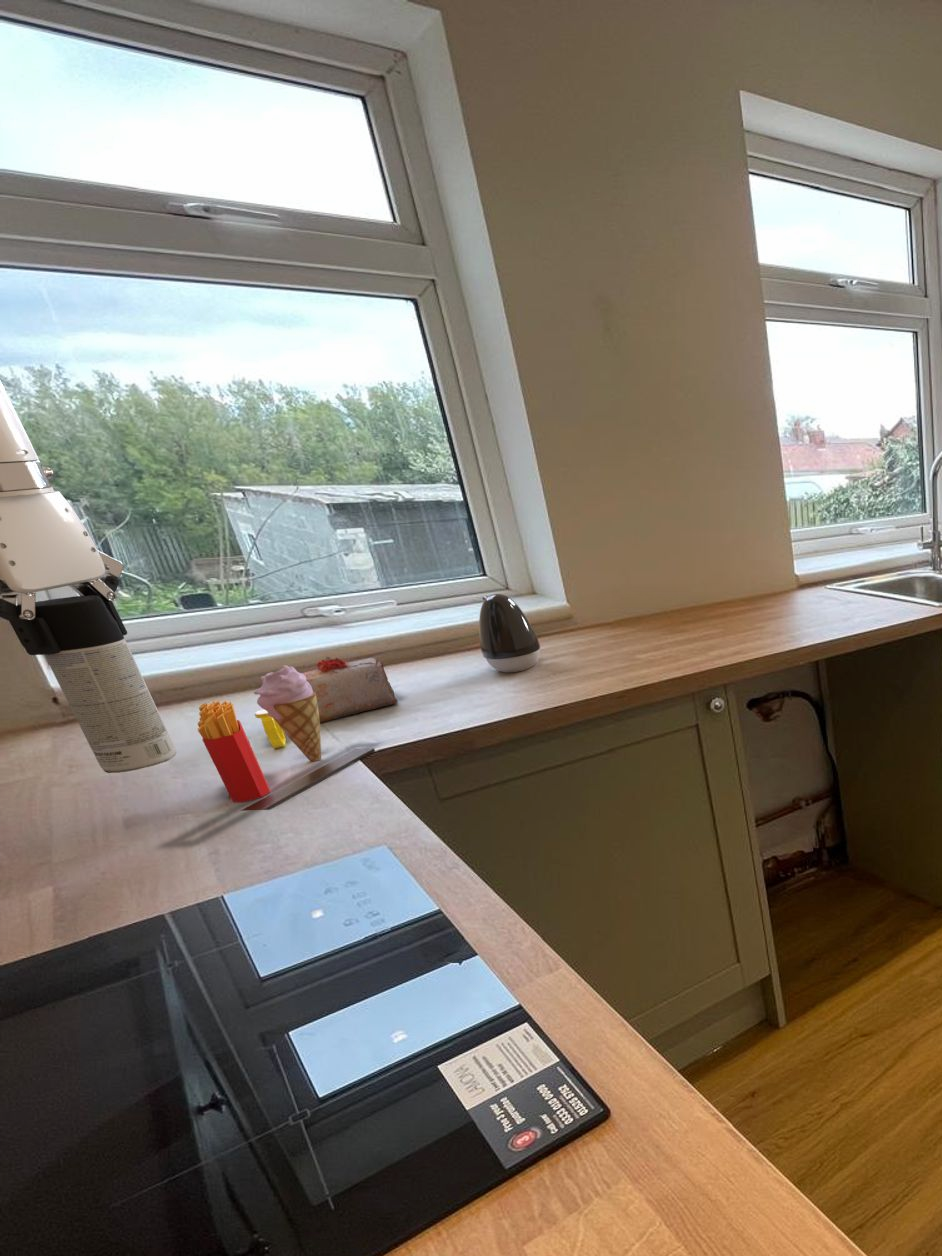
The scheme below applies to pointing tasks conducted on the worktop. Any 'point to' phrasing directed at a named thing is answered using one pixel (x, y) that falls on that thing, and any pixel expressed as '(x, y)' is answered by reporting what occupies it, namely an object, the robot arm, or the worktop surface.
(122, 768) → the spray can
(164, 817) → the worktop surface
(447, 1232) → the worktop surface
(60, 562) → the robot arm
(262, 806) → the strip
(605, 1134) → the worktop surface
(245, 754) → the french fries
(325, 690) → the food item
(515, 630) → the egg-shaped speaker
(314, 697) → the ice cream cone
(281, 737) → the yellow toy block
